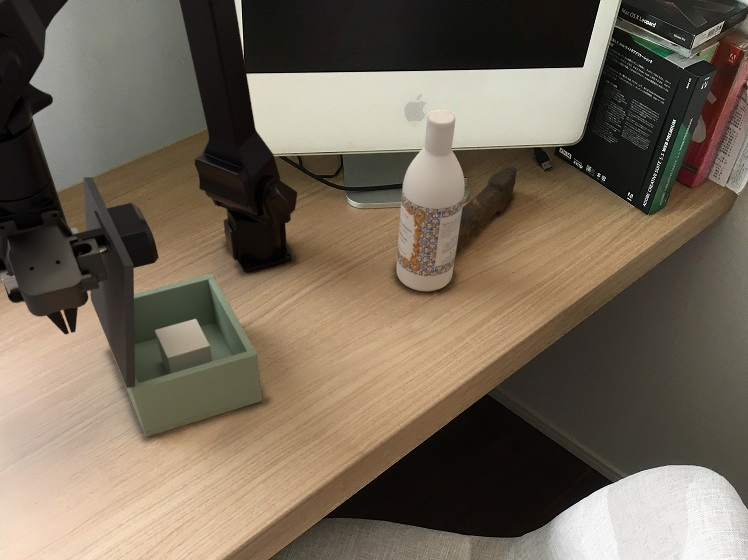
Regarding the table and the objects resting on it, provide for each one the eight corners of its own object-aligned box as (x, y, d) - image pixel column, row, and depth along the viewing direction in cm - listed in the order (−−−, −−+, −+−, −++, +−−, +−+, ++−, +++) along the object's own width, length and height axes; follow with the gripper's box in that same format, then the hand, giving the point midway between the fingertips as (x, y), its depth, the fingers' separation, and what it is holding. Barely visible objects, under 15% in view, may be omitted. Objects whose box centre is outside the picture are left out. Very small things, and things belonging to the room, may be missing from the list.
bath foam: (387, 264, 98) (397, 104, 81) (437, 252, 99) (457, 94, 83) (409, 298, 94) (424, 138, 78) (461, 286, 96) (486, 127, 80)
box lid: (92, 177, 71) (83, 177, 71) (133, 265, 64) (123, 265, 64) (98, 299, 81) (90, 300, 81) (135, 387, 74) (126, 388, 74)
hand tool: (450, 266, 98) (455, 235, 94) (424, 253, 99) (428, 221, 95) (529, 200, 107) (536, 169, 103) (504, 189, 108) (510, 157, 105)
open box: (220, 321, 90) (212, 273, 85) (262, 401, 83) (257, 354, 78) (111, 351, 87) (95, 303, 81) (146, 437, 80) (132, 390, 74)
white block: (202, 349, 86) (196, 318, 83) (215, 376, 84) (210, 345, 80) (162, 361, 85) (154, 329, 81) (174, 389, 83) (167, 357, 79)
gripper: (-102, 270, 55) (-19, 419, 68) (159, 210, 60) (190, 358, 73) (-119, 185, 61) (-40, 336, 73) (120, 136, 66) (156, 286, 78)
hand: (69, 330), depth 74 cm, fingers closed
